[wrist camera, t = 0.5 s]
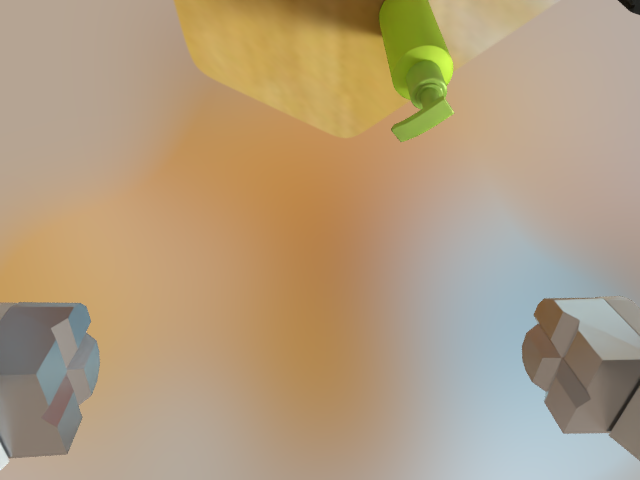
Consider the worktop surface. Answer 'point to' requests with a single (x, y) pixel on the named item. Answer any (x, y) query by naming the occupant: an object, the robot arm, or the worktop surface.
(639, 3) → the spray can
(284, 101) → the worktop surface
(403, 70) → the soap dispenser
